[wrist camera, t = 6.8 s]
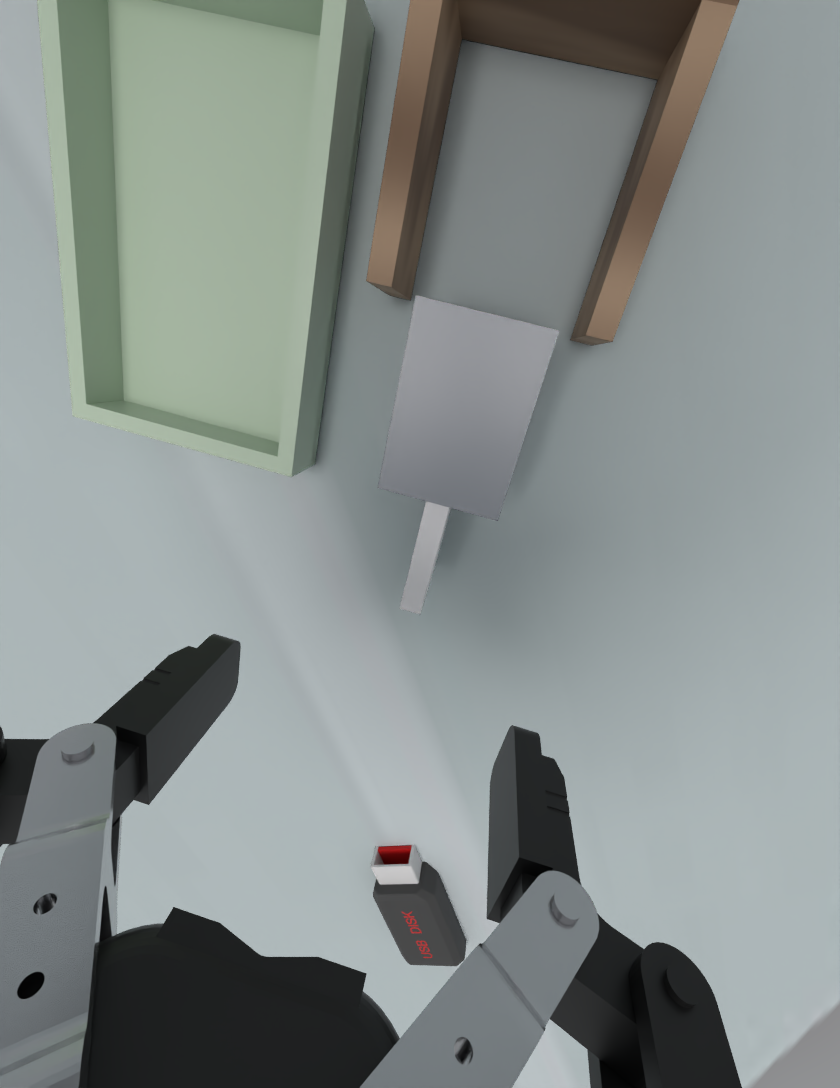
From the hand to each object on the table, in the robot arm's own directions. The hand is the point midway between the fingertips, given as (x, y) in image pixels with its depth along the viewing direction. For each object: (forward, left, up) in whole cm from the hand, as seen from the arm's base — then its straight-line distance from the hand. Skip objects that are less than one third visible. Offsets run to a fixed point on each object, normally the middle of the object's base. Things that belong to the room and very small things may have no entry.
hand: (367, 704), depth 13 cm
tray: (-11, -13, -13) cm, 22 cm away
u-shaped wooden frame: (-16, 0, -13) cm, 21 cm away
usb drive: (+31, +6, -14) cm, 35 cm away
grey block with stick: (-7, 0, -13) cm, 15 cm away
